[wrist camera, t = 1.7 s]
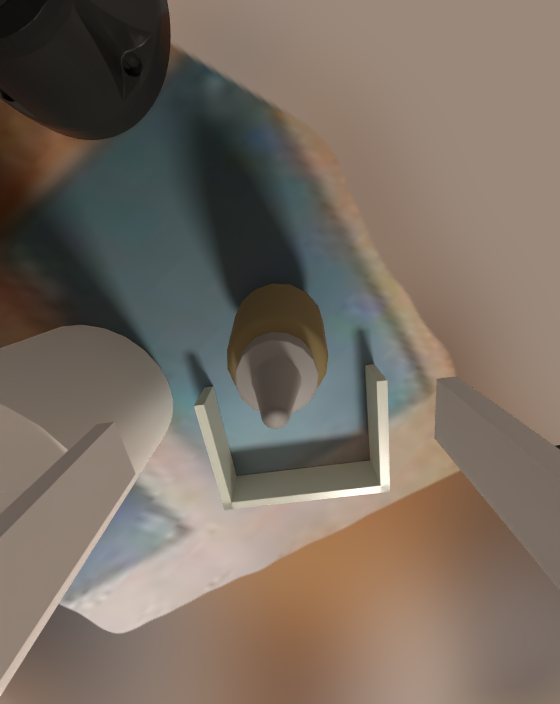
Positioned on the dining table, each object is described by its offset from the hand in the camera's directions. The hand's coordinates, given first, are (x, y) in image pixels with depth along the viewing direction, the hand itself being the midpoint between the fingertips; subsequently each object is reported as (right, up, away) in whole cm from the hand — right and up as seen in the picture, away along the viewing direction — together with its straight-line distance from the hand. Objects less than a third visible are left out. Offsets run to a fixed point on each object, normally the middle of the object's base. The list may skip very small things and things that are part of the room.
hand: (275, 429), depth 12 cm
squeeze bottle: (0, +7, +17) cm, 19 cm away
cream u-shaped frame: (+2, -6, +22) cm, 23 cm away
